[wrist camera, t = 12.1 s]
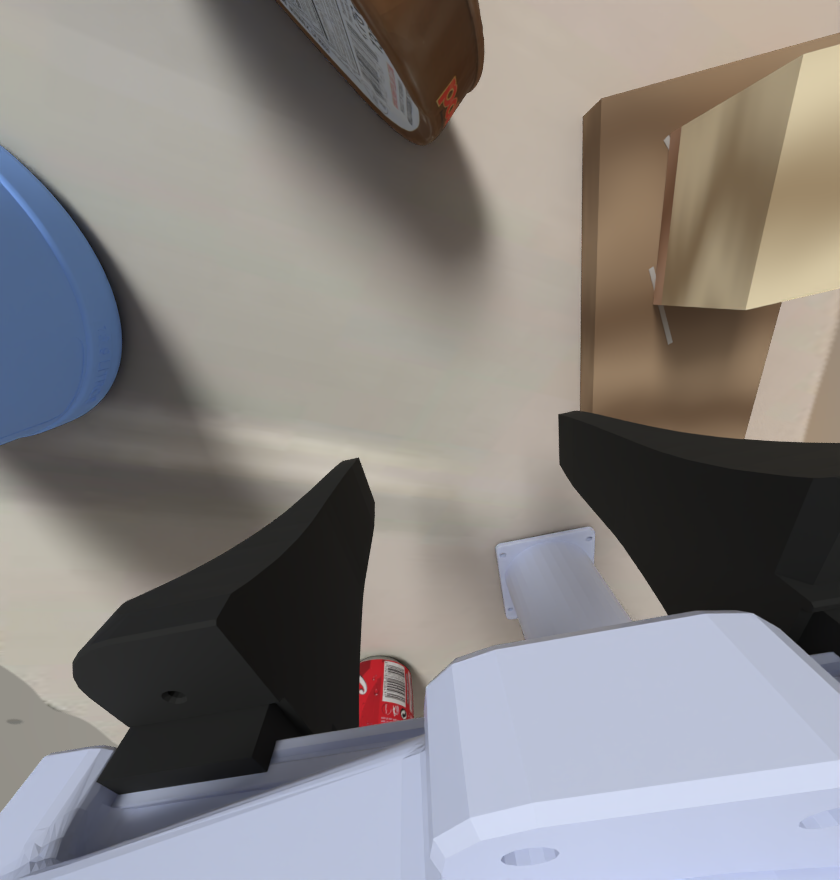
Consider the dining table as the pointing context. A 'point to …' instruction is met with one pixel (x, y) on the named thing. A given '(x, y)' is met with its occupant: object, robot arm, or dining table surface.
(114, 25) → the dining table surface
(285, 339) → the dining table surface
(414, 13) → the tin
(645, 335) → the board
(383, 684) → the soda can
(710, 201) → the block
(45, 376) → the water jug
